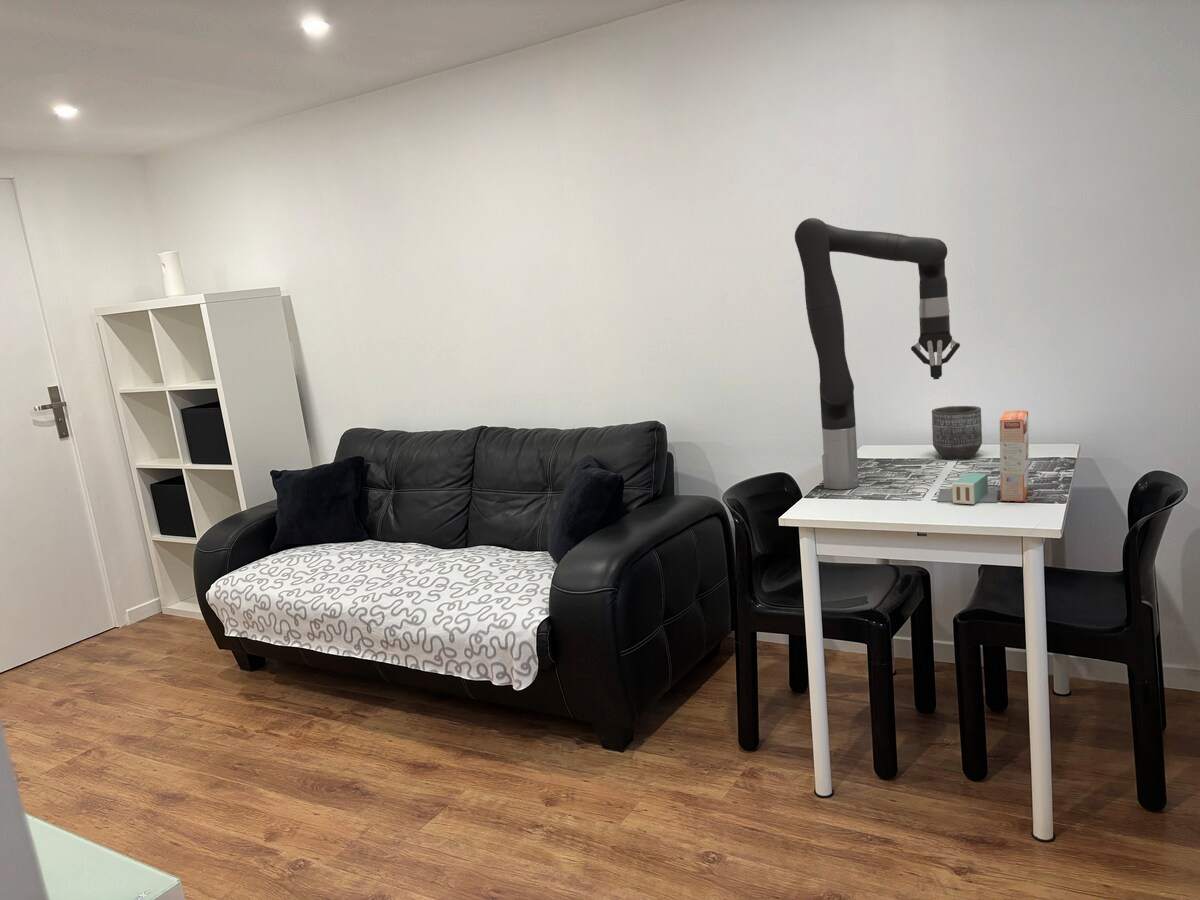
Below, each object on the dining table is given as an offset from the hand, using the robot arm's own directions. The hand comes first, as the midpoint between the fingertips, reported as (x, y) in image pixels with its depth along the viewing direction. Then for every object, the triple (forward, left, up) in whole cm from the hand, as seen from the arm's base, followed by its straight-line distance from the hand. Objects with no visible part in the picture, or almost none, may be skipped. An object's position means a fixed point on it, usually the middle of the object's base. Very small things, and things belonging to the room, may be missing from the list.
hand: (936, 378), depth 236 cm
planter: (+3, +35, -29) cm, 46 cm away
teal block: (+7, -24, -26) cm, 36 cm away
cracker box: (+19, -14, -29) cm, 37 cm away
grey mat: (+7, -15, -29) cm, 34 cm away
